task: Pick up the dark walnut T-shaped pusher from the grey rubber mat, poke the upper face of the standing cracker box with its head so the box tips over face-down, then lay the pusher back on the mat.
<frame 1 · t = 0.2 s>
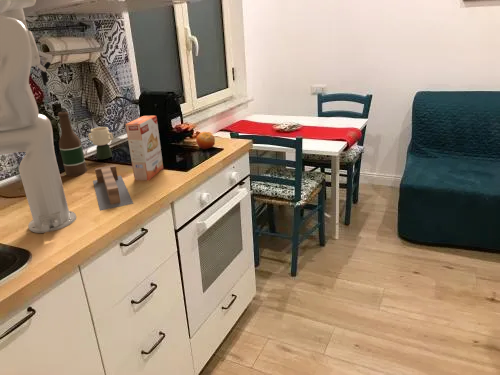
hand: (28, 86, 126), 36 cm above the countertop, tool pointing down, fingers open, 9 cm apart
cream and green trophy: (105, 159, 178), on the countertop
fruit: (206, 148, 183), on the countertop
cracker box: (150, 175, 154), on the countertop
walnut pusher: (111, 191, 139), resting on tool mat
beer bottle: (77, 174, 161), on the countertop
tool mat: (111, 192, 139), on the countertop
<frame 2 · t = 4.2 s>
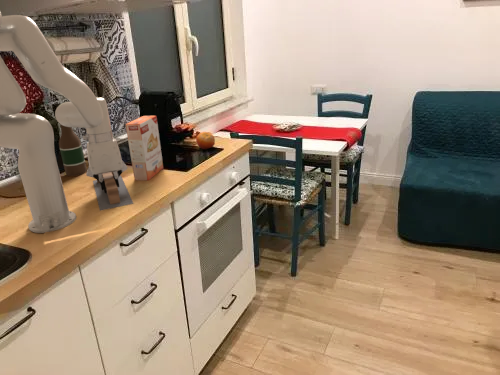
hand: (111, 190, 139), 1 cm above the countertop, tool pointing down, fingers closed on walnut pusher, 3 cm apart
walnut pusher: (111, 191, 139), point 1 cm above the countertop, touching gripper
everything else where it was.
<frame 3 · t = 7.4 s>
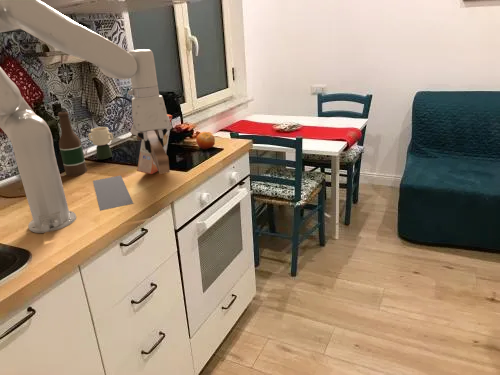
hand: (155, 150, 132), 14 cm above the countertop, tool pointing down, fingers closed on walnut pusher, 2 cm apart
cracker box: (151, 170, 153), point 2 cm above the countertop, touching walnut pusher
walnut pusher: (155, 153, 132), point 13 cm above the countertop, tilted 15°, touching cracker box, gripper
everything else where it was.
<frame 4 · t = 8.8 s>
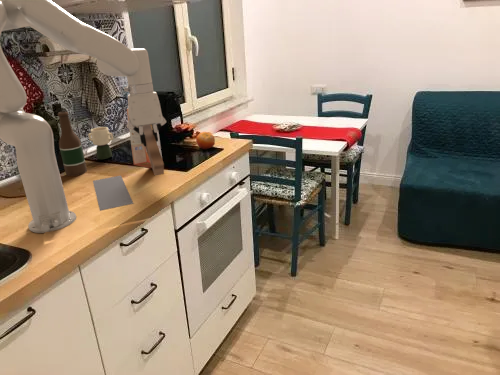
hand: (150, 144, 139), 14 cm above the countertop, tool pointing down, fingers closed on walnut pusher, 2 cm apart
cracker box: (149, 166, 153), point 3 cm above the countertop
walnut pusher: (150, 148, 140), point 13 cm above the countertop, tilted 33°, touching gripper
everything else where it was.
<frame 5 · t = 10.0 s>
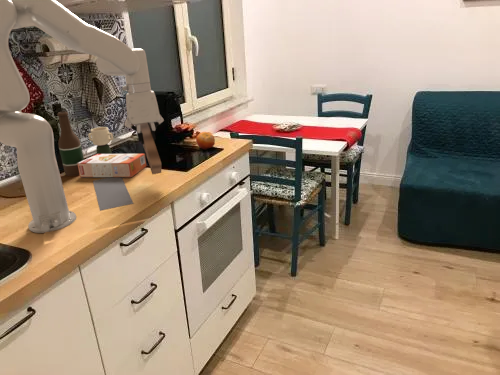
hand: (147, 142, 143), 14 cm above the countertop, tool pointing down, fingers closed on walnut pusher, 3 cm apart
cracker box: (139, 164, 156), point 3 cm above the countertop, touching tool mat
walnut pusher: (148, 146, 144), point 12 cm above the countertop, tilted 35°, touching gripper
everything else where it was.
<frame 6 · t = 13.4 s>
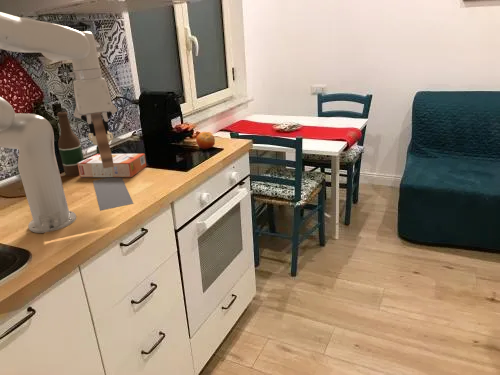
hand: (100, 133, 132), 20 cm above the countertop, tool pointing down, fingers closed on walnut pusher, 3 cm apart
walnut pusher: (101, 138, 133), point 18 cm above the countertop, tilted 36°, touching gripper
everything else where it was.
when the fingers open (3 cm above the countertop, at t = 16.6 s): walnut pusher drops 1 cm, resting on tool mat.
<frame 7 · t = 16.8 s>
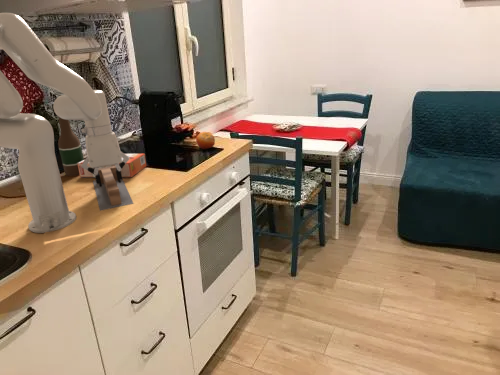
hand: (109, 182, 138), 3 cm above the countertop, tool pointing down, fingers open, 5 cm apart
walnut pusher: (112, 192, 138), resting on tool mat
everything else where it was.
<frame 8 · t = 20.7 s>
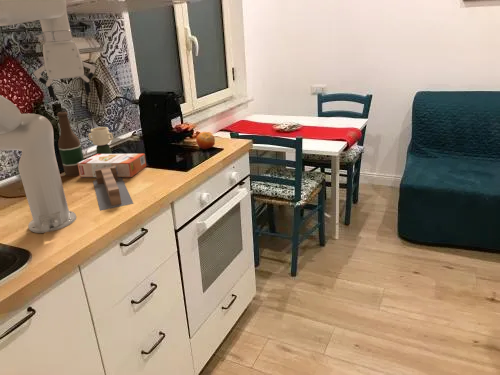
hand: (71, 97, 127), 32 cm above the countertop, tool pointing down, fingers open, 9 cm apart
nothing on the countertop moved.
at the end: cracker box tilted 90°; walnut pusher inside the target area (1.2 cm from its centre), point 0.5 cm above the countertop; the gripper is holding nothing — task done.
